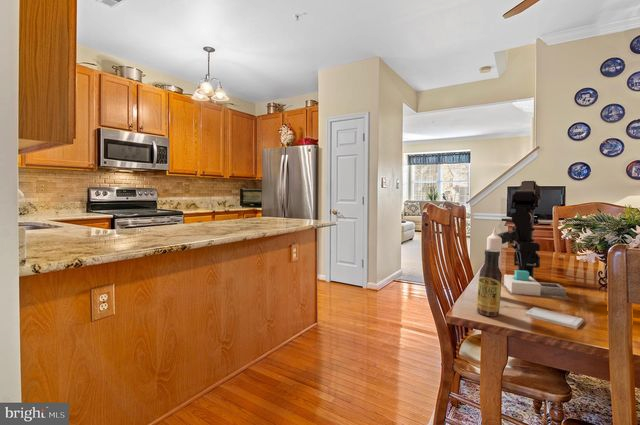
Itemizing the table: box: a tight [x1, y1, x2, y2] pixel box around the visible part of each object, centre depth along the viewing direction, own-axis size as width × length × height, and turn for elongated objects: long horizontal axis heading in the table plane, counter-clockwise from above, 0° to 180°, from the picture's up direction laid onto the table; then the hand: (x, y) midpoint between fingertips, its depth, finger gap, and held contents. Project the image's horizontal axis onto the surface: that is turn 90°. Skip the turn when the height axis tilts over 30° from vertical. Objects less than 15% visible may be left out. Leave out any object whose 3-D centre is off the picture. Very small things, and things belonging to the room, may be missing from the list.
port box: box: [503, 274, 541, 296], centre depth 121 cm, size 12×9×4 cm
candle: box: [486, 228, 503, 271], centre depth 112 cm, size 7×7×25 cm
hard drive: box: [525, 306, 585, 330], centre depth 96 cm, size 2×8×12 cm
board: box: [501, 282, 573, 301], centre depth 120 cm, size 16×18×1 cm
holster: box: [537, 281, 567, 296], centre depth 118 cm, size 7×8×2 cm
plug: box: [513, 269, 529, 281], centre depth 121 cm, size 3×4×7 cm
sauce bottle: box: [476, 248, 503, 317], centre depth 99 cm, size 7×6×20 cm
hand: (521, 266), depth 120 cm, fingers open, 3 cm apart
